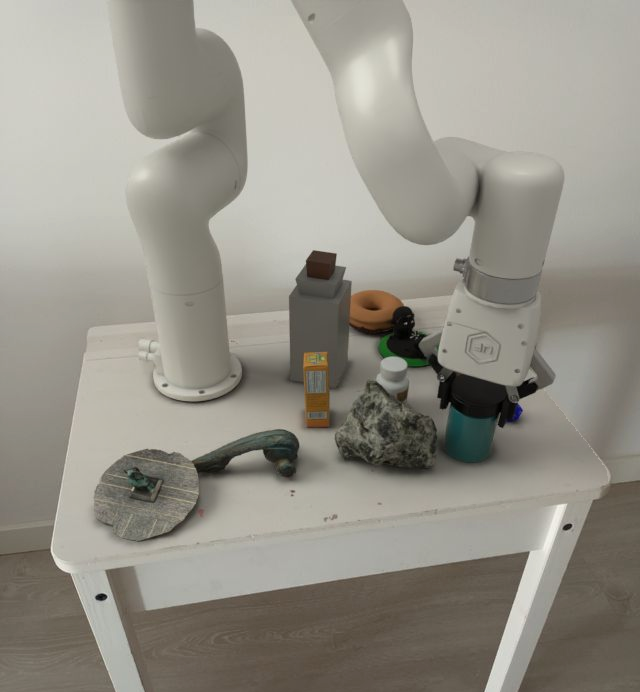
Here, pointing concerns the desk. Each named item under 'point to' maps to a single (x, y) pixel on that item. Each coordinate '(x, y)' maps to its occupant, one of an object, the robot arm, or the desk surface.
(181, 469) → the sculpture
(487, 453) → the jar
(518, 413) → the die
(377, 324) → the donut
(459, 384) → the lid
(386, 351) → the toy figurine
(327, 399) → the supplement box
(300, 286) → the perfume bottle
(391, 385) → the pill bottle
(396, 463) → the rock
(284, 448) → the decorative handle
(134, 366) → the desk surface
